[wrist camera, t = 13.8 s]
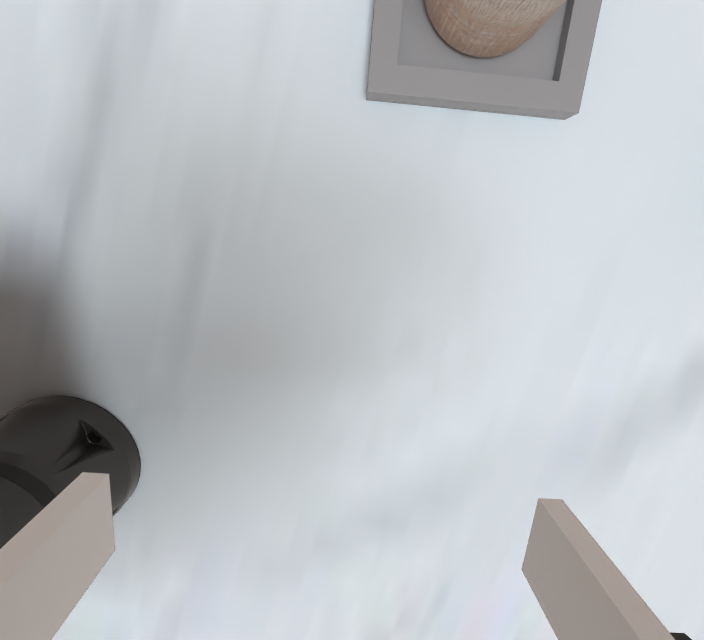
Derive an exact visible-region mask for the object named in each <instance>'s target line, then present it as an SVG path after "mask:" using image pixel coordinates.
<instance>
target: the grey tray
mask: <svg viewBox="0 0 704 640" xmlns="http://www.w3.org/2000/svg"><path fill="white" fill-rule="evenodd" d="M601 3H602V0H566V1H565V2H564V3H563V4H562V5H561V6H560V7H559V8H558V10H557V11H556V12H555V13H554V14H553V15H552V16H551V17H550V18H549V19H548V20H547V21H546V22H545V23H544V25H543V26H542V27H541V28H540V29H539V30H538V31H537V32H536V33H535V34H534V35H533V36H532V37H531V38H530V39H529V40H527V41H526V42H525V43H523V44H522V45H520V46H519V47H517V48H516V49H514V50H512V51H510V52H508V53H505V54H503V55H499V56H495V57H485V58H482V57H474V56H470V55H466V54H464V53H461V52H459V51H457V50H456V49H454V48H453V47H451V46H450V45H449V44H448V43H446V42H445V41H444V40H443V39H442V38H441V36H440V35H439V34H438V32H437V31H436V30H435V28H434V26H433V25H432V23H431V21H430V18H429V16H428V13H427V10H426V6H425V2H424V0H375V2H374V14H373V27H372V39H371V51H370V63H369V75H368V87H367V99H366V100H373V101H383V102H393V103H403V104H413V105H423V106H433V107H443V108H453V109H463V110H473V111H483V112H493V113H503V114H513V115H523V116H533V117H543V118H553V119H563V120H565V119H567V118H569V117H571V116H573V115H576V114H578V113H579V109H580V104H581V99H582V95H583V90H584V85H585V80H586V75H587V70H588V66H589V61H590V56H591V51H592V46H593V41H594V37H595V32H596V27H597V22H598V17H599V12H600V8H601Z"/></svg>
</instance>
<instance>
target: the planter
mask: <svg viewBox="0 0 704 640" xmlns="http://www.w3.org/2000/svg"><path fill="white" fill-rule="evenodd" d="M565 1H566V0H424V2H425V6H426V10H427V13H428V16H429V18H430V21H431V23H432V25H433V26H434V28H435V30H436V31H437V32H438V34H439V35H440V36H441V38H442V39H443V40H444V41H445V42H446V43H448V44H449V45H450V46H451V47H453V48H454V49H456V50H457V51H459V52H461V53H464V54H466V55H470V56H474V57H482V58H485V57H495V56H499V55H503V54H505V53H508V52H510V51H512V50H514V49H516V48H517V47H519V46H520V45H522V44H523V43H525V42H526V41H527V40H529V39H530V38H531V37H532V36H533V35H534V34H535V33H536V32H537V31H538V30H539V29H540V28H541V27H542V26H543V25H544V23H545V22H546V21H547V20H548V19H549V18H550V17H551V16H552V15H553V14H554V13H555V12H556V11H557V10H558V8H559V7H560V6H561V5H562V4H563V3H564V2H565Z"/></svg>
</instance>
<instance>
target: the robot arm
mask: <svg viewBox="0 0 704 640" xmlns="http://www.w3.org/2000/svg"><path fill="white" fill-rule="evenodd" d="M139 475H140V459H139V454H138V451H137V448H136V445H135V443H134V441H133V439H132V437H131V436H130V434H129V433H128V431H127V430H126V429H125V427H124V426H123V425H122V424H121V423H120V422H119V421H118V420H117V419H116V418H115V417H113V416H112V415H111V414H110V413H108V412H107V411H105V410H104V409H102V408H100V407H98V406H96V405H94V404H92V403H90V402H87V401H84V400H81V399H77V398H72V397H65V396H49V397H42V398H38V399H34V400H31V401H29V402H27V403H25V404H23V405H21V406H19V407H17V408H15V409H14V410H12V411H10V412H8V413H6V414H5V415H3V416H2V417H1V418H0V640H51V639H52V638H53V637H54V635H55V634H56V632H57V631H58V630H59V628H60V627H61V625H62V624H63V623H64V621H65V620H66V618H67V617H68V616H69V614H70V613H71V611H72V610H73V608H74V607H75V606H76V604H77V603H78V601H79V600H80V599H81V597H82V596H83V594H84V593H85V592H86V590H87V589H88V587H89V586H90V585H91V583H92V582H93V580H94V579H95V578H96V576H97V575H98V573H99V572H100V571H101V569H102V568H103V566H104V565H105V564H106V562H107V561H108V559H109V558H110V556H111V555H112V554H113V552H114V551H115V540H114V528H113V516H114V515H115V514H116V513H117V512H118V511H119V510H120V509H121V507H122V506H123V505H124V504H125V502H126V501H127V500H128V499H129V497H130V496H131V495H132V493H133V492H134V490H135V488H136V486H137V483H138V480H139ZM522 571H523V573H524V575H525V577H526V579H527V581H528V583H529V585H530V587H531V589H532V590H533V592H534V594H535V596H536V598H537V600H538V602H539V604H540V606H541V608H542V610H543V612H544V613H545V615H546V617H547V619H548V621H549V623H550V625H551V627H552V629H553V631H554V633H555V635H556V636H557V638H558V640H692V639H690V638H689V637H688V636H687V635H686V634H685V633H669V631H668V630H667V629H666V628H665V626H664V625H663V624H662V623H661V621H660V620H659V619H658V618H657V616H656V615H655V614H654V613H653V612H652V610H651V609H650V608H649V607H648V605H647V604H646V603H645V602H644V600H643V599H642V598H641V597H640V595H639V594H638V593H637V592H636V590H635V589H634V588H633V587H632V585H631V584H630V583H629V582H628V581H627V579H626V578H625V577H624V576H623V574H622V573H621V572H620V571H619V569H618V568H617V567H616V566H615V564H614V563H613V562H612V561H611V559H610V558H609V557H608V556H607V554H606V553H605V552H604V551H603V549H602V548H601V547H600V546H599V545H598V543H597V542H596V541H595V540H594V538H593V537H592V536H591V535H590V533H589V532H588V531H587V530H586V528H585V527H584V526H583V525H582V523H581V522H580V521H579V520H578V518H577V517H576V516H575V515H574V514H573V512H572V511H571V510H570V509H569V507H568V506H567V505H566V504H565V502H564V501H563V500H560V499H542V498H538V502H537V507H536V511H535V515H534V519H533V524H532V528H531V532H530V536H529V540H528V545H527V549H526V553H525V557H524V562H523V566H522Z"/></svg>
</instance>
